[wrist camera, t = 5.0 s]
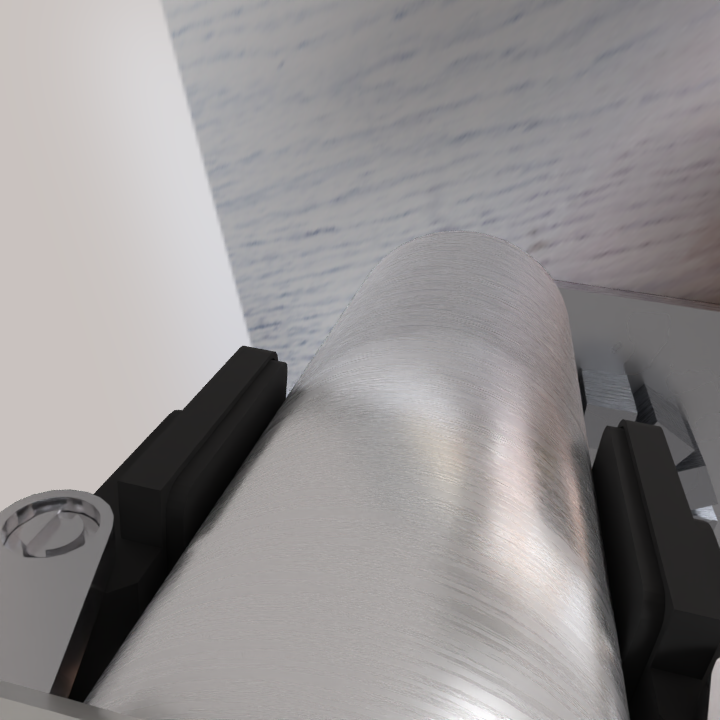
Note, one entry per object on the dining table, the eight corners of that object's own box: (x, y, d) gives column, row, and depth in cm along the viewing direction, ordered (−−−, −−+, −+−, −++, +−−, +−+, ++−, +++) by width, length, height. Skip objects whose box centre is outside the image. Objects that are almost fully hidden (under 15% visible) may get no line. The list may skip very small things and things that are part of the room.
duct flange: (421, 260, 32) (405, 292, 28) (841, 322, 29) (890, 368, 25) (382, 557, 40) (366, 615, 36) (709, 629, 37) (731, 700, 33)
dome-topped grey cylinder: (363, 213, 15) (-374, 1008, 3) (595, 251, 14) (1027, 1568, 2) (336, 465, 18) (-80, 1394, 6) (527, 506, 17) (530, 1675, 5)
